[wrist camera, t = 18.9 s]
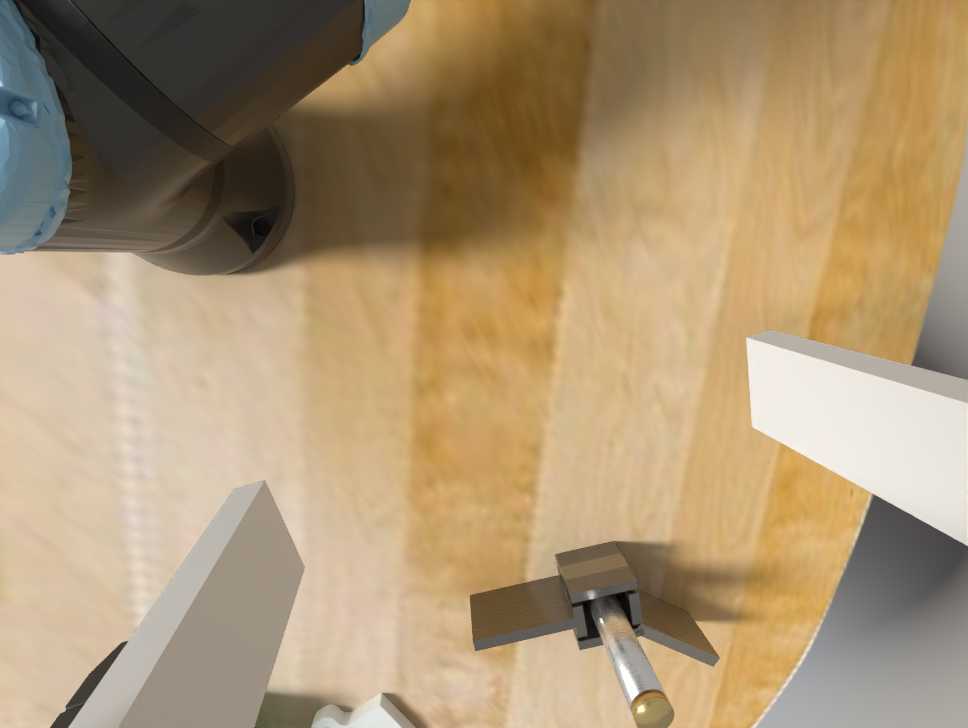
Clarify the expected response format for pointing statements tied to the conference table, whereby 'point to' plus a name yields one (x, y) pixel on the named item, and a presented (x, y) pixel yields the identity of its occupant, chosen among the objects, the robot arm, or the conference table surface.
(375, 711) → the mounting plate
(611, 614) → the hinge pin
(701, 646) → the grey winged hinge base
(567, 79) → the conference table surface
